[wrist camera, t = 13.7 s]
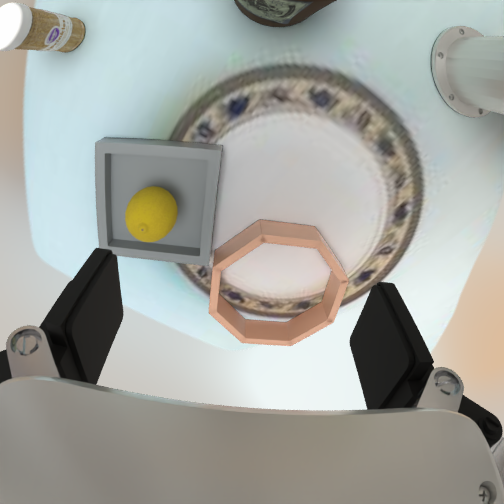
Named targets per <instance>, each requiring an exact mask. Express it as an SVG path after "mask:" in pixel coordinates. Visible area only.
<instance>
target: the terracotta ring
mask: <svg viewBox="0 0 504 504" xmlns="http://www.w3.org/2000/svg"><path fill="white" fill-rule="evenodd" d="M263 243H272V244H281V245H290V246H299V247H307V248H316V249H317V250H318V251H319V252H320V254H321V255H322V257H323V258H324V259H325V261H326V262H327V264H328V265H329V266H330V268H331V269H332V271H331V275H330V278H329V281H328V284H327V287H326V290H325V293H324V296H323V299H322V302H320V303H319V304H317V305H315V306H314V307H312V308H310V309H309V310H307V311H305V312H303V313H302V314H300V315H298V316H296V317H295V318H293V319H291V320H290V321H288V322H274V321H261V320H248V319H244V318H243V317H242V316H241V315H240V314H239V313H238V312H237V311H236V310H235V309H234V308H233V307H232V306H231V305H230V304H229V303H228V302H227V301H226V300H225V299H224V298H223V297H222V296H221V295H220V294H219V285H220V276H221V271H222V270H224V269H225V268H227V267H228V266H230V265H231V264H233V263H234V262H236V261H237V260H239V259H240V258H242V257H243V256H245V255H246V254H248V253H249V252H251V251H252V250H254V249H255V248H257V247H258V246H260V245H261V244H263ZM348 282H349V280H348V278H347V275H346V273H345V271H344V269H343V267H342V265H341V263H340V262H339V261H338V259H337V258H336V256H335V255H334V253H333V252H332V250H331V249H330V247H329V246H328V244H327V243H326V242H325V240H324V239H323V237H322V236H321V234H320V233H319V232H318V230H317V229H316V227H315V226H308V225H300V224H292V223H284V222H276V221H268V220H258V221H257V222H255V223H254V224H252V225H251V226H249V227H248V228H246V229H245V230H244V231H242V232H241V233H239V234H238V235H236V236H235V237H233V238H232V239H231V240H229V241H228V242H226V243H225V244H223V245H222V246H221V247H219V248H218V249H216V250H215V253H214V262H213V271H212V282H211V292H210V303H209V314H210V315H211V316H213V317H214V318H215V319H216V320H217V321H218V322H219V323H220V324H221V325H222V326H224V327H225V328H226V329H227V330H228V331H229V332H230V333H231V334H232V335H234V336H235V337H236V338H237V339H238V340H239V341H240V342H242V343H250V344H264V345H282V346H292V345H294V344H296V343H297V342H299V341H301V340H303V339H305V338H307V337H308V336H310V335H312V334H314V333H316V332H317V331H319V330H321V329H323V328H324V327H326V326H328V325H330V324H331V323H333V322H334V320H335V317H336V315H337V312H338V309H339V307H340V304H341V301H342V299H343V296H344V293H345V290H346V288H347V285H348Z"/></svg>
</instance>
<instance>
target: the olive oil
mask: <svg viewBox="0 0 504 504" xmlns="http://www.w3.org/2000/svg"><path fill="white" fill-rule="evenodd" d="M234 1H235V3H236V5H237V6H238V8H239V9H240V10H241V12H242V13H243V14H245V15H246V16H247V17H248V18H250V19H251V20H253V21H255V22H257V23H260V24H263V25H266V26H272V27H285V26H291V25H294V24H297V23H300V22H302V21H303V20H305V19H307V18H308V17H309V16H311V15H312V14H314V13H315V12H317V11H318V10H320V9H322V8H323V7H325V6H327V5H329V4H330V3H332V2H334V1H336V0H234Z"/></svg>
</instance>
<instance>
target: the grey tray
mask: <svg viewBox="0 0 504 504" xmlns="http://www.w3.org/2000/svg"><path fill="white" fill-rule="evenodd" d="M222 147H223V145H214V144H204V143H194V142H182V141H169V140H155V139H137V138H111V137H105V138H103V139H101V140H99V141H97V142H95V186H96V210H97V226H98V239H99V248H102V249H110V250H112V252H113V254H116V256H124V257H132V258H141V259H150V260H158V261H167V262H176V263H185V264H194V265H203V266H209V262H210V254H211V244H212V234H213V225H214V215H215V206H216V197H217V188H218V180H219V171H220V163H221V155H222ZM151 186H156V187H161V188H164V189H165V190H167V191H169V193H170V194H171V195H172V196H173V197H174V199H175V201H176V204H177V209H178V215H177V219H176V223H175V225H174V227H173V228H172V230H171V231H170V232H169V233H168V234H167V235H166V236H165V237H164V238H162V239H160V240H158V241H155V242H143V241H140V240H138V239H136V238H135V237H134V236H132V234H131V233H130V232H129V230H128V228H127V226H126V222H125V212H126V209H127V205H128V203H129V201H130V200H131V198H132V197H133V196H134V195H135V194H136V193H137V192H138V191H140V190H142V189H144V188H146V187H151Z"/></svg>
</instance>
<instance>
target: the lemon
mask: <svg viewBox="0 0 504 504" xmlns="http://www.w3.org/2000/svg"><path fill="white" fill-rule="evenodd" d="M177 215H178V209H177V204H176V201H175V199H174V197H173V196H172V195H171V194H170V193H169V191H167V190H165V189H164V188H161V187H156V186H151V187H146V188H144V189H142V190H140V191H138V192H137V193H136V194H135V195H134V196H133V197H132V198H131V200H130V201H129V203H128V205H127V209H126V212H125V222H126V226H127V228H128V230H129V232H130V233H131V234H132V236H134V237H135V238H136V239H138V240H140V241H143V242H155V241H158V240H160V239H162V238H164V237H165V236H166V235H167V234H168V233H169V232H170V231H171V230H172V228H173V227H174V225H175V223H176V219H177Z"/></svg>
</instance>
